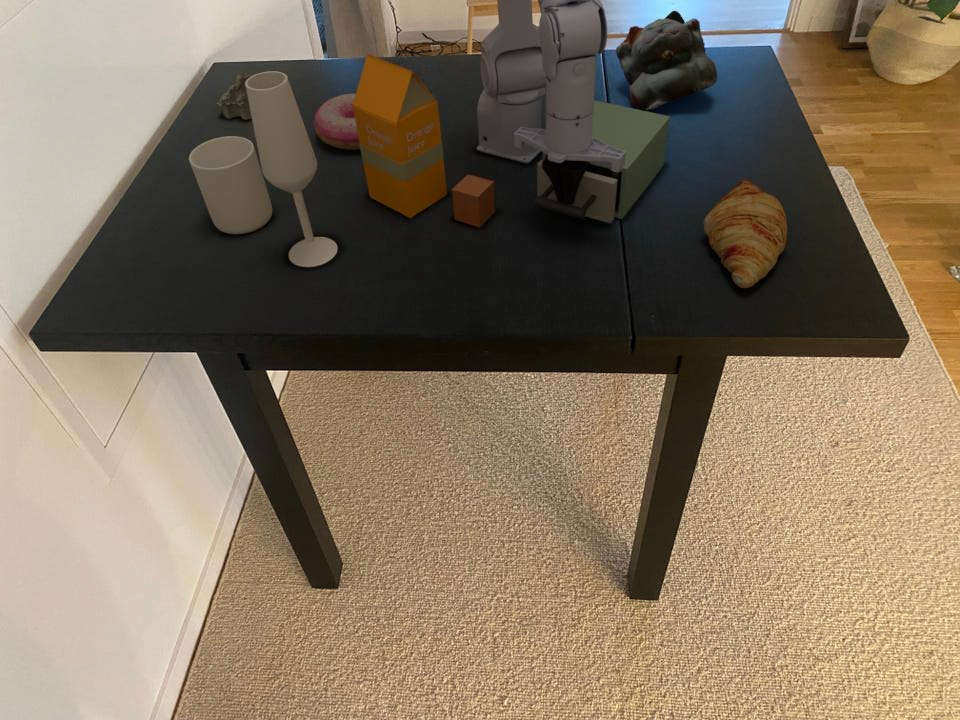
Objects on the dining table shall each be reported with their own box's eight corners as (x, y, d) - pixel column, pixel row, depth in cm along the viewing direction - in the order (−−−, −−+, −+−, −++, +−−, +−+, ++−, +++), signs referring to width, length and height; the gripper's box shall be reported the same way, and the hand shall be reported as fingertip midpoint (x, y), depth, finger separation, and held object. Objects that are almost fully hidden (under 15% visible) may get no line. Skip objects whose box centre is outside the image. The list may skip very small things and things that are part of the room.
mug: (287, 189, 111) (269, 123, 103) (263, 236, 102) (241, 169, 95) (233, 188, 112) (210, 123, 104) (205, 236, 103) (178, 169, 96)
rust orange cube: (454, 219, 103) (451, 189, 99) (470, 204, 105) (467, 174, 102) (480, 227, 101) (478, 196, 97) (495, 212, 103) (493, 181, 100)
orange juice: (409, 218, 103) (389, 82, 89) (368, 197, 108) (343, 63, 94) (448, 194, 107) (434, 59, 93) (407, 174, 112) (388, 42, 97)
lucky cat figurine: (627, 117, 120) (608, 28, 115) (629, 112, 131) (613, 30, 126) (722, 91, 115) (706, -3, 111) (716, 88, 126) (702, 2, 122)
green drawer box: (622, 219, 100) (627, 168, 95) (542, 197, 105) (542, 147, 100) (663, 165, 109) (670, 116, 104) (587, 147, 114) (590, 99, 109)
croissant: (761, 319, 90) (809, 278, 84) (693, 283, 88) (737, 239, 82) (755, 217, 104) (796, 176, 98) (696, 184, 102) (734, 140, 96)
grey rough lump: (249, 91, 135) (242, 69, 132) (284, 95, 133) (278, 73, 130) (216, 118, 128) (208, 95, 125) (252, 123, 126) (246, 100, 123)
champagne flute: (344, 239, 101) (305, 68, 84) (327, 269, 96) (281, 96, 79) (299, 234, 102) (251, 66, 85) (280, 264, 98) (225, 92, 81)
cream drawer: (595, 243, 96) (598, 203, 91) (520, 221, 100) (519, 181, 96) (650, 171, 107) (655, 132, 102) (581, 154, 111) (583, 116, 107)
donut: (377, 161, 115) (372, 131, 111) (302, 151, 118) (295, 122, 115) (410, 120, 124) (406, 91, 120) (339, 111, 127) (333, 84, 124)
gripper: (500, 111, 88) (504, 206, 98) (612, 136, 83) (604, 235, 92) (528, 86, 92) (529, 180, 102) (636, 109, 87) (626, 206, 96)
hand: (566, 204), depth 97 cm, fingers closed
